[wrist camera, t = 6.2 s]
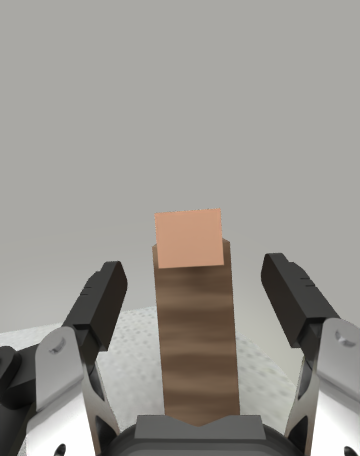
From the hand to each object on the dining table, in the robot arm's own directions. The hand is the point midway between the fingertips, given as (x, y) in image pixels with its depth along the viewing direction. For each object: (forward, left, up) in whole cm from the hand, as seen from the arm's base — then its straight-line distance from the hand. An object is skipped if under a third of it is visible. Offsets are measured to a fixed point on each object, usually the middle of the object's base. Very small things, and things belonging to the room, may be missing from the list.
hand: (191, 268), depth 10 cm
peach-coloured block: (-5, +10, 0) cm, 11 cm away
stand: (-7, +15, -32) cm, 36 cm away
